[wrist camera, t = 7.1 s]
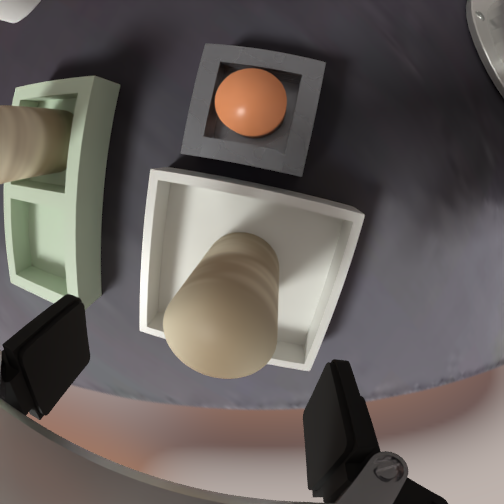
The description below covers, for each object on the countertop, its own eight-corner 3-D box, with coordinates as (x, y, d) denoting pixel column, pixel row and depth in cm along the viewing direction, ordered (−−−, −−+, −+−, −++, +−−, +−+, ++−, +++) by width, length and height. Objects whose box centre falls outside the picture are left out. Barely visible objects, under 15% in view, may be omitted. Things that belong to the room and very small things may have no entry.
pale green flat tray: (120, 84, 15) (94, 75, 12) (101, 295, 19) (80, 314, 17) (41, 91, 15) (15, 87, 12) (33, 269, 20) (11, 282, 17)
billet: (287, 241, 16) (290, 299, 10) (269, 308, 18) (262, 387, 11) (211, 224, 16) (166, 270, 10) (201, 292, 18) (161, 362, 11)
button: (290, 88, 13) (293, 75, 11) (279, 144, 14) (279, 140, 12) (232, 78, 13) (222, 64, 11) (220, 132, 14) (208, 128, 12)
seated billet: (85, 109, 14) (3, 100, 8) (76, 175, 16) (-6, 193, 9) (43, 111, 14) (-32, 109, 8) (35, 170, 16) (-38, 186, 9)
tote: (353, 206, 16) (365, 214, 13) (307, 347, 19) (309, 371, 17) (168, 167, 16) (150, 169, 14) (154, 312, 19) (139, 330, 17)
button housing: (319, 75, 14) (325, 62, 11) (298, 174, 16) (301, 177, 13) (215, 58, 14) (205, 43, 11) (194, 154, 16) (180, 153, 13)
